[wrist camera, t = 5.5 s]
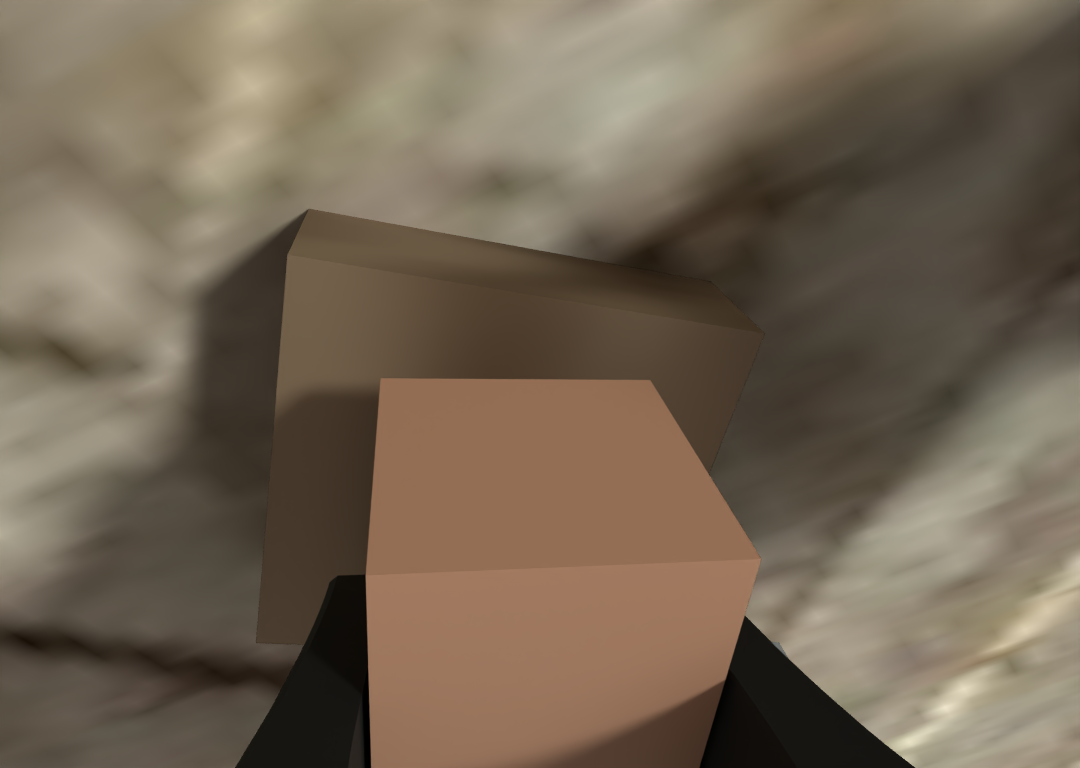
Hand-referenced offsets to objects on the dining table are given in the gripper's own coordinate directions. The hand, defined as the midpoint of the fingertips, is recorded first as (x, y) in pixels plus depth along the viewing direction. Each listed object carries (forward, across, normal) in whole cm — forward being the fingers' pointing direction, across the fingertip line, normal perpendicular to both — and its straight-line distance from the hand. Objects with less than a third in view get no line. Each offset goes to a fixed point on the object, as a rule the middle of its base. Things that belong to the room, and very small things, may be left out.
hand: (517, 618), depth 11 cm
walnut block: (+6, 0, 0) cm, 6 cm away
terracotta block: (+2, 0, 0) cm, 2 cm away
